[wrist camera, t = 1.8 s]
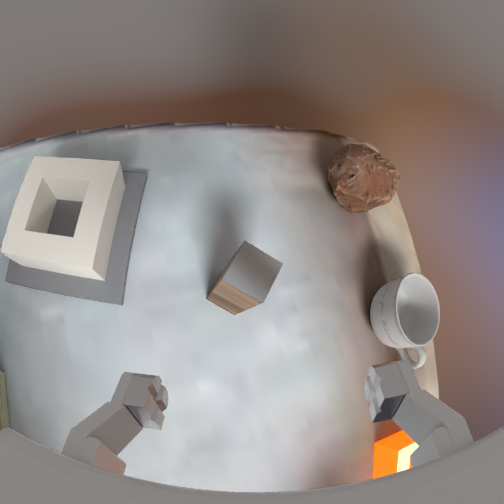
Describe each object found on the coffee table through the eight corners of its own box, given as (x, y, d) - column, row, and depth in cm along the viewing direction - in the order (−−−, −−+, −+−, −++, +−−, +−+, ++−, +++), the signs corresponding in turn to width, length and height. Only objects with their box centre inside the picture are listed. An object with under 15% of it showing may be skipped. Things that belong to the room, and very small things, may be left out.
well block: (122, 305, 32) (110, 296, 25) (9, 282, 27) (-18, 269, 21) (147, 177, 37) (144, 147, 31) (42, 168, 33) (28, 141, 27)
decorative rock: (318, 215, 43) (353, 183, 34) (309, 156, 46) (337, 120, 37) (381, 224, 46) (419, 200, 37) (369, 171, 50) (400, 142, 41)
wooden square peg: (234, 314, 35) (263, 302, 24) (206, 298, 35) (222, 278, 24) (248, 288, 37) (282, 263, 26) (221, 272, 36) (244, 240, 25)
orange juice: (371, 483, 31) (458, 519, 13) (373, 442, 34) (472, 469, 16) (404, 466, 34) (489, 489, 15) (407, 427, 36) (501, 440, 18)
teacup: (361, 279, 42) (394, 266, 34) (407, 287, 44) (440, 276, 37) (357, 370, 37) (393, 372, 30) (406, 367, 39) (441, 366, 32)
